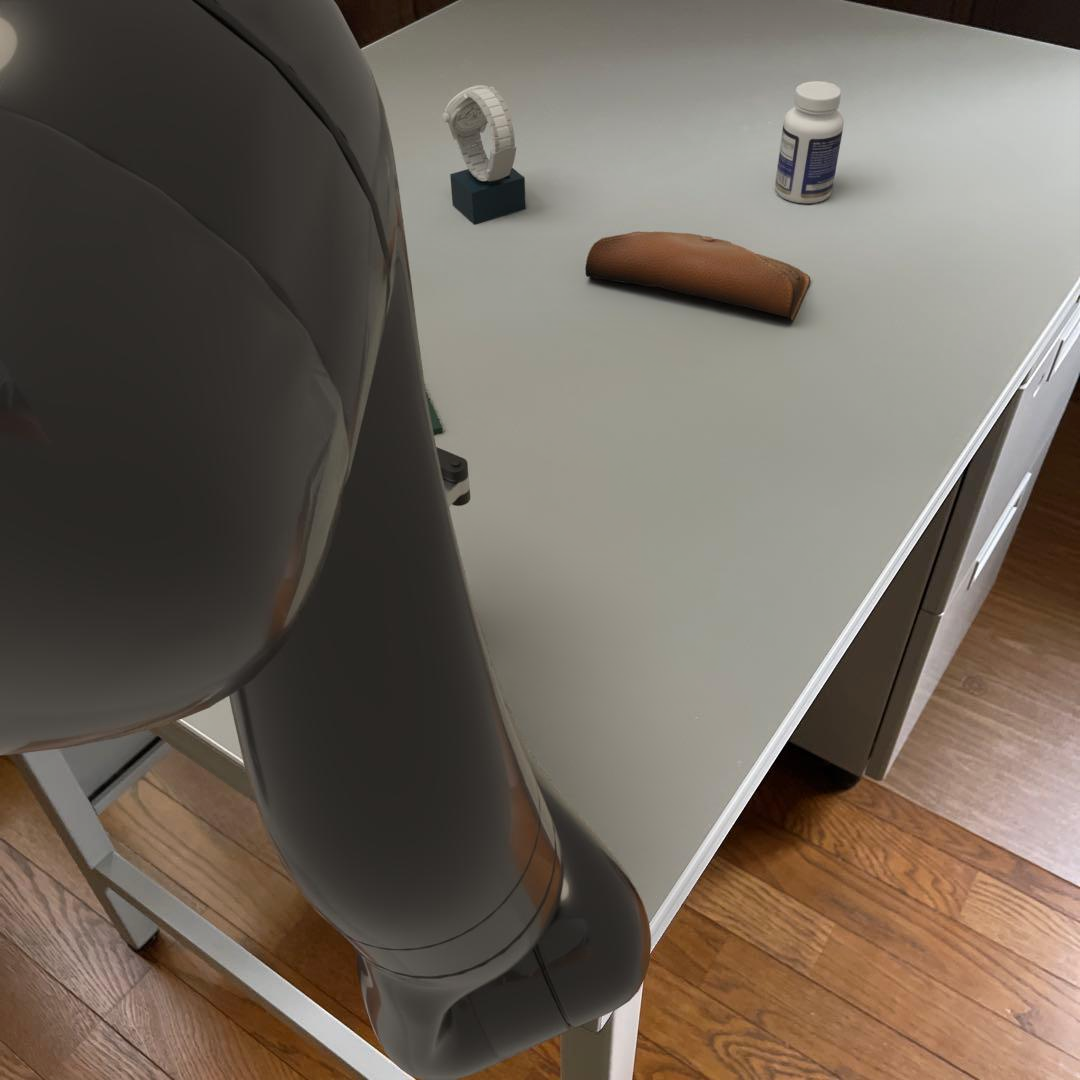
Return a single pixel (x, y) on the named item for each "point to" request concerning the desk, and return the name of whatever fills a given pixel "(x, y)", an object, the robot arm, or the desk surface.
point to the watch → (484, 156)
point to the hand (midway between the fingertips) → (320, 408)
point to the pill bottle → (810, 144)
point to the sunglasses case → (700, 269)
